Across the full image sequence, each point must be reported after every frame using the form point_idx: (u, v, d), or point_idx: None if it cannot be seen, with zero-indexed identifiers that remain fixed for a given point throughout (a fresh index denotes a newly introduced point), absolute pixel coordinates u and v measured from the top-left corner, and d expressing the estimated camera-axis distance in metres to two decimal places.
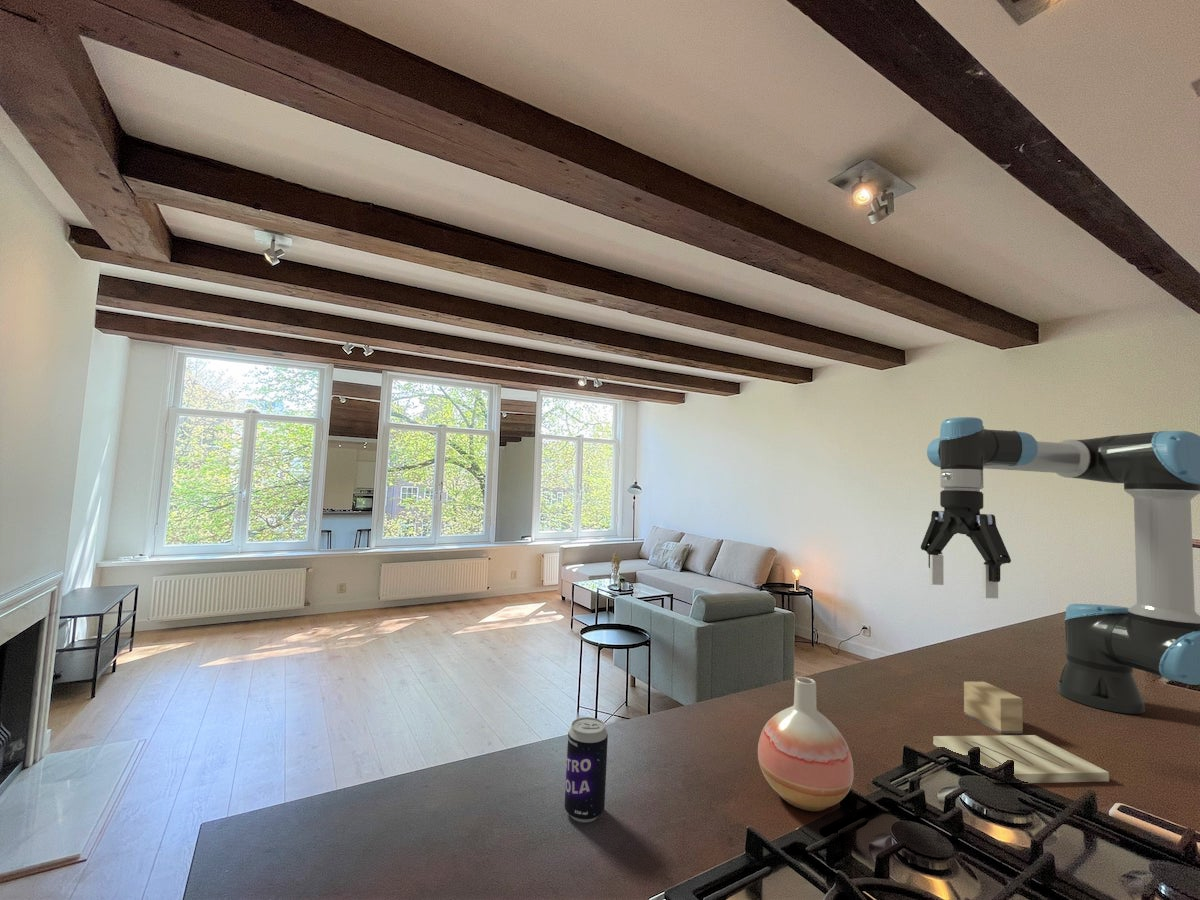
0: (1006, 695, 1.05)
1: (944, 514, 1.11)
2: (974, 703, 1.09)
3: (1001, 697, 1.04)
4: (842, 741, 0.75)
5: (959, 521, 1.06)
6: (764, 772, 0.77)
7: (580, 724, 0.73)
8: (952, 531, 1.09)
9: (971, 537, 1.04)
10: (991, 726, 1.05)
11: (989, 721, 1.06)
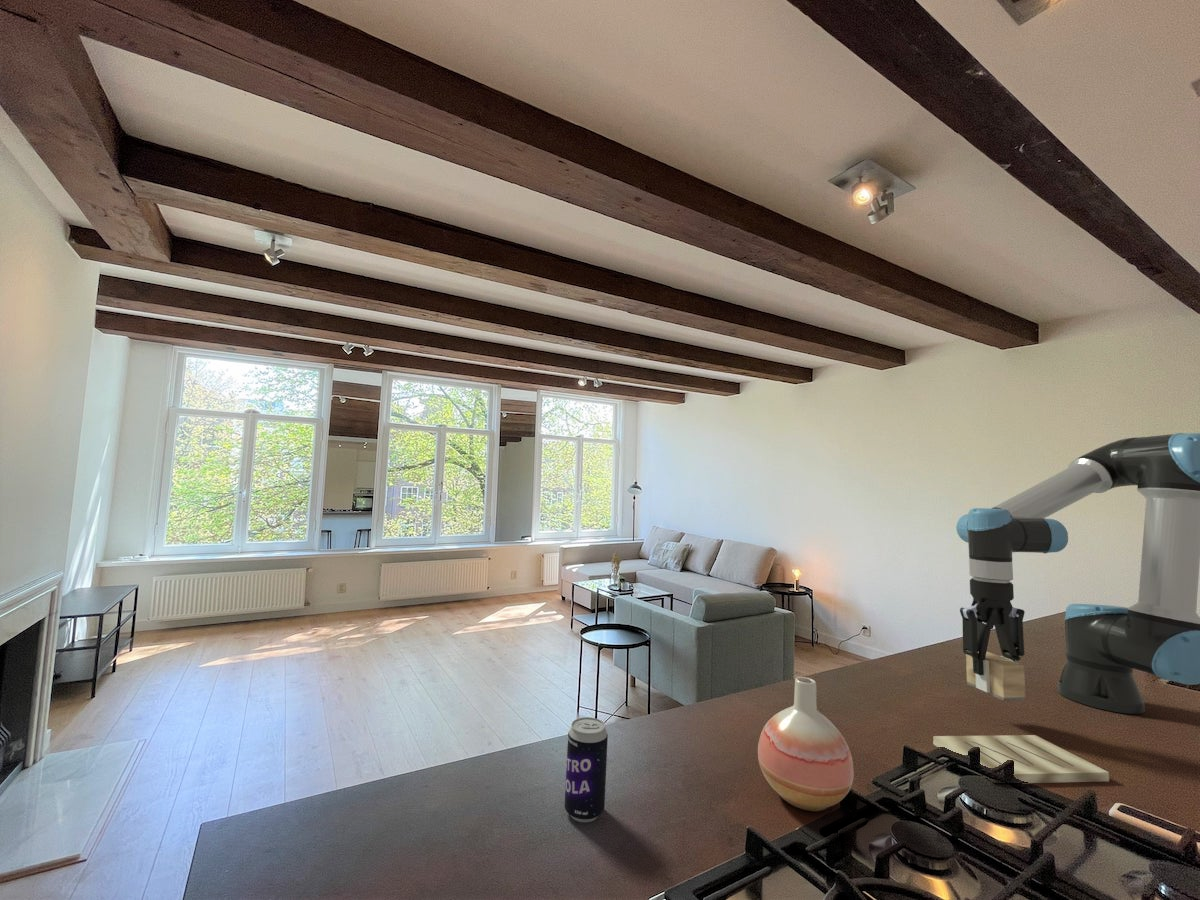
0: (1008, 663, 1.06)
1: None
2: None
3: (1003, 664, 1.05)
4: (842, 741, 0.75)
5: None
6: (764, 772, 0.77)
7: (580, 724, 0.73)
8: None
9: None
10: (994, 694, 1.06)
11: (992, 689, 1.06)
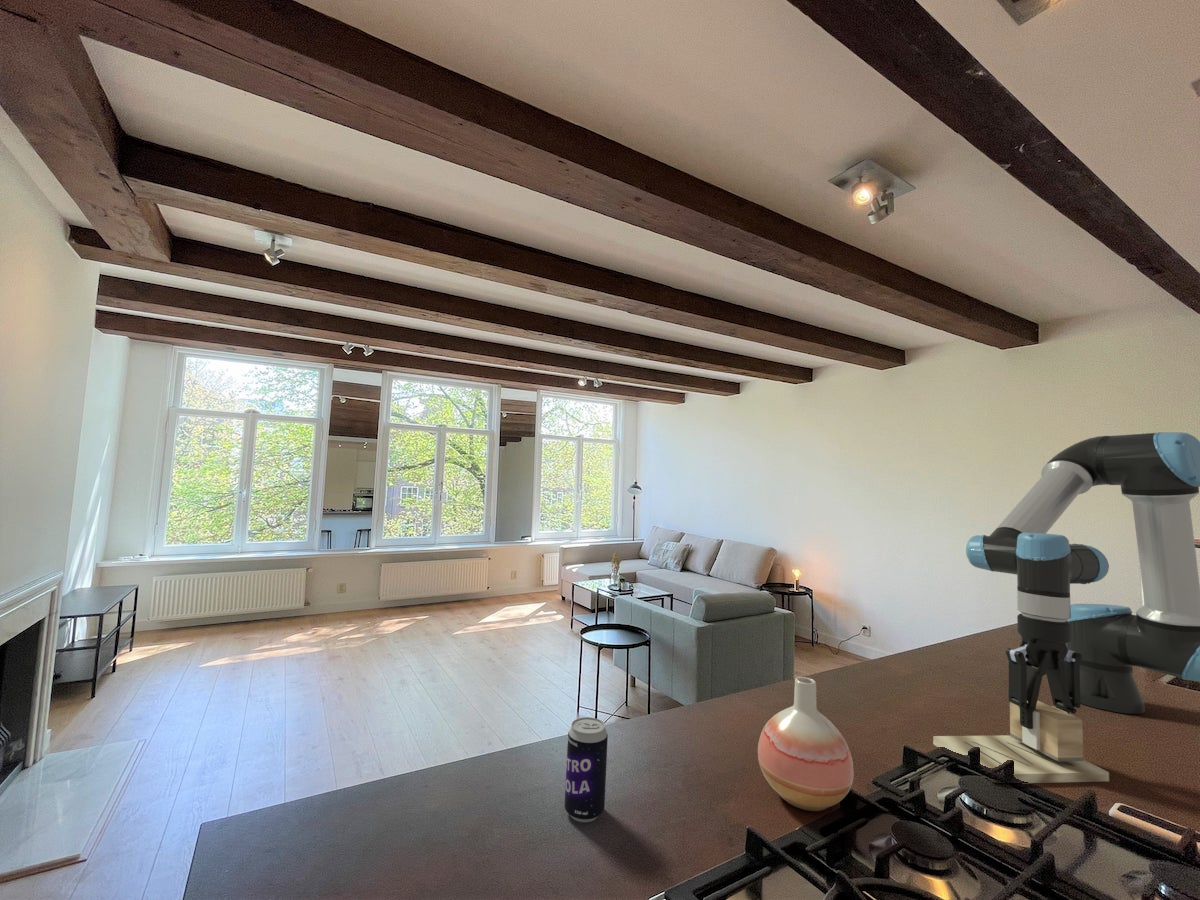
0: (1063, 716, 0.90)
1: None
2: None
3: (1057, 718, 0.89)
4: (842, 741, 0.75)
5: None
6: (764, 772, 0.77)
7: (580, 724, 0.73)
8: None
9: None
10: (1045, 752, 0.90)
11: (1043, 746, 0.91)
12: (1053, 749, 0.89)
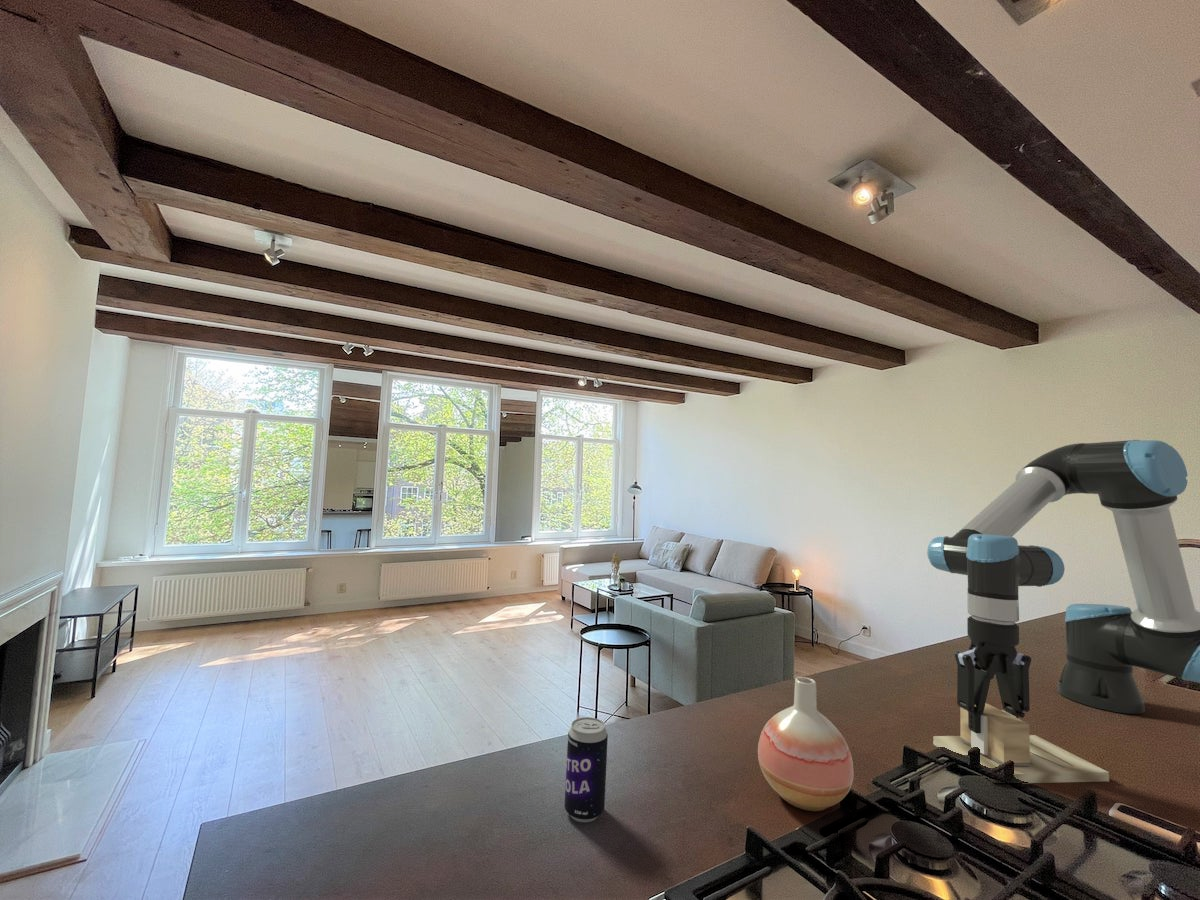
0: (1010, 720, 0.89)
1: None
2: None
3: (1004, 722, 0.88)
4: (842, 741, 0.75)
5: None
6: (764, 772, 0.77)
7: (580, 724, 0.73)
8: None
9: None
10: (992, 757, 0.89)
11: (990, 750, 0.89)
12: (999, 754, 0.88)
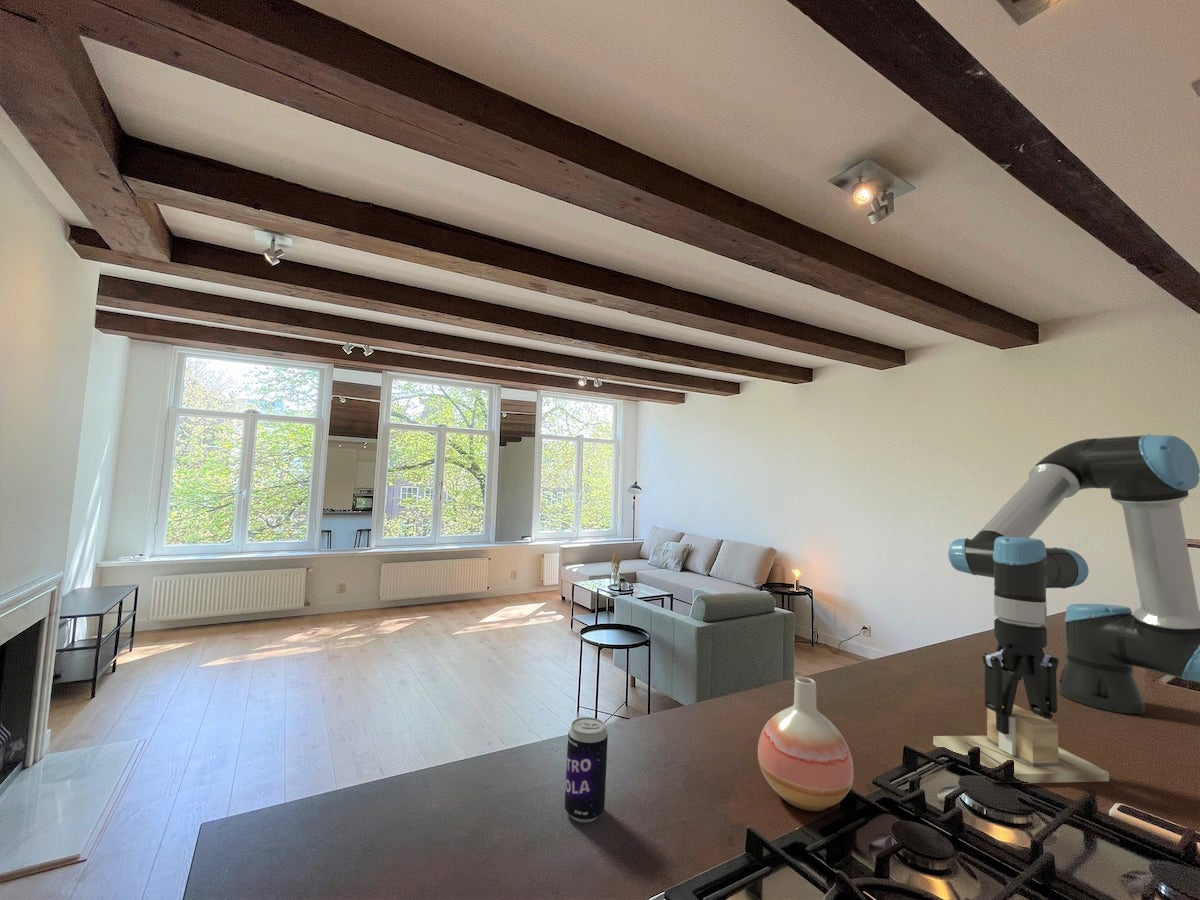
0: (1038, 721, 0.90)
1: None
2: None
3: (1033, 723, 0.89)
4: (842, 741, 0.75)
5: None
6: (764, 772, 0.77)
7: (580, 724, 0.73)
8: None
9: None
10: (1021, 757, 0.90)
11: (1018, 751, 0.90)
12: (1028, 754, 0.88)
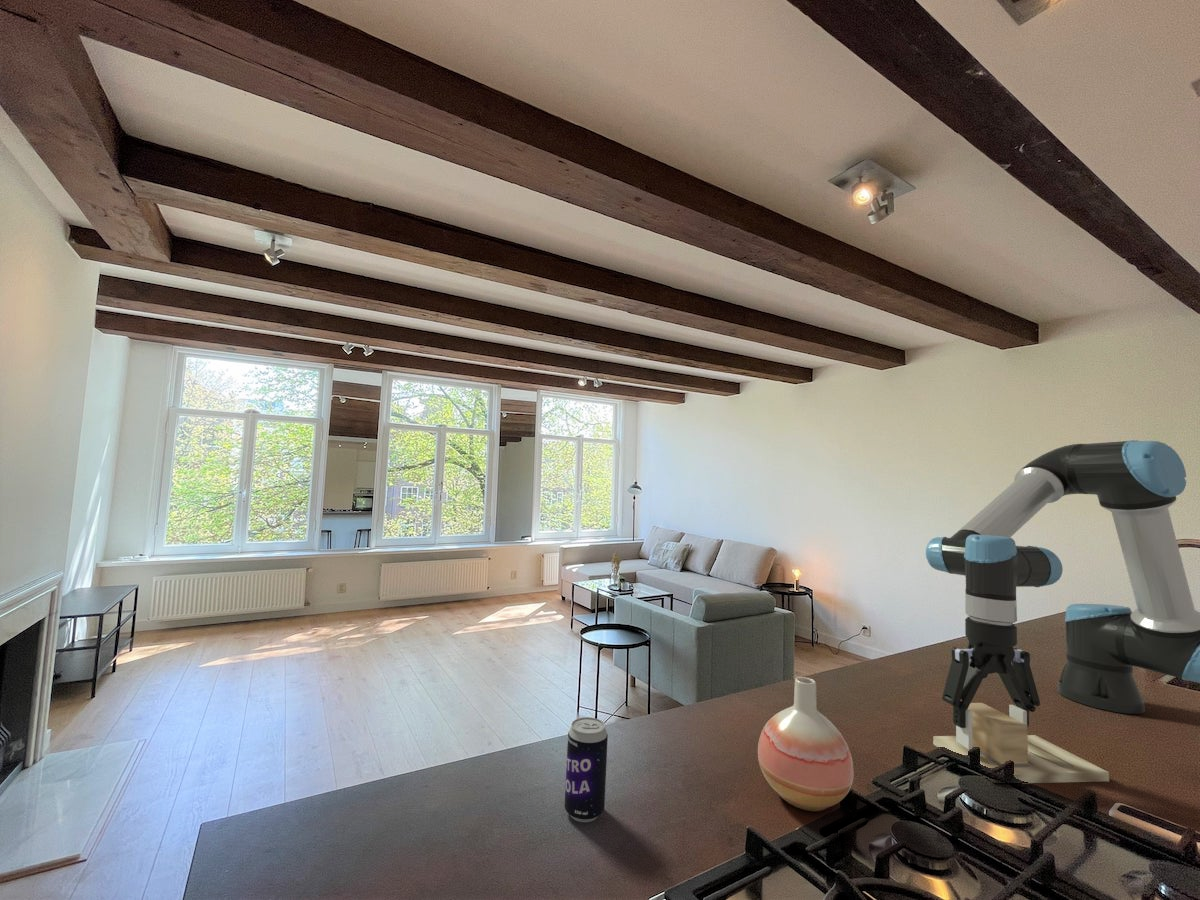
0: (1008, 721, 0.89)
1: None
2: None
3: (1002, 723, 0.88)
4: (842, 741, 0.75)
5: None
6: (764, 772, 0.77)
7: (580, 724, 0.73)
8: None
9: None
10: (990, 757, 0.89)
11: (988, 751, 0.89)
12: (997, 755, 0.87)
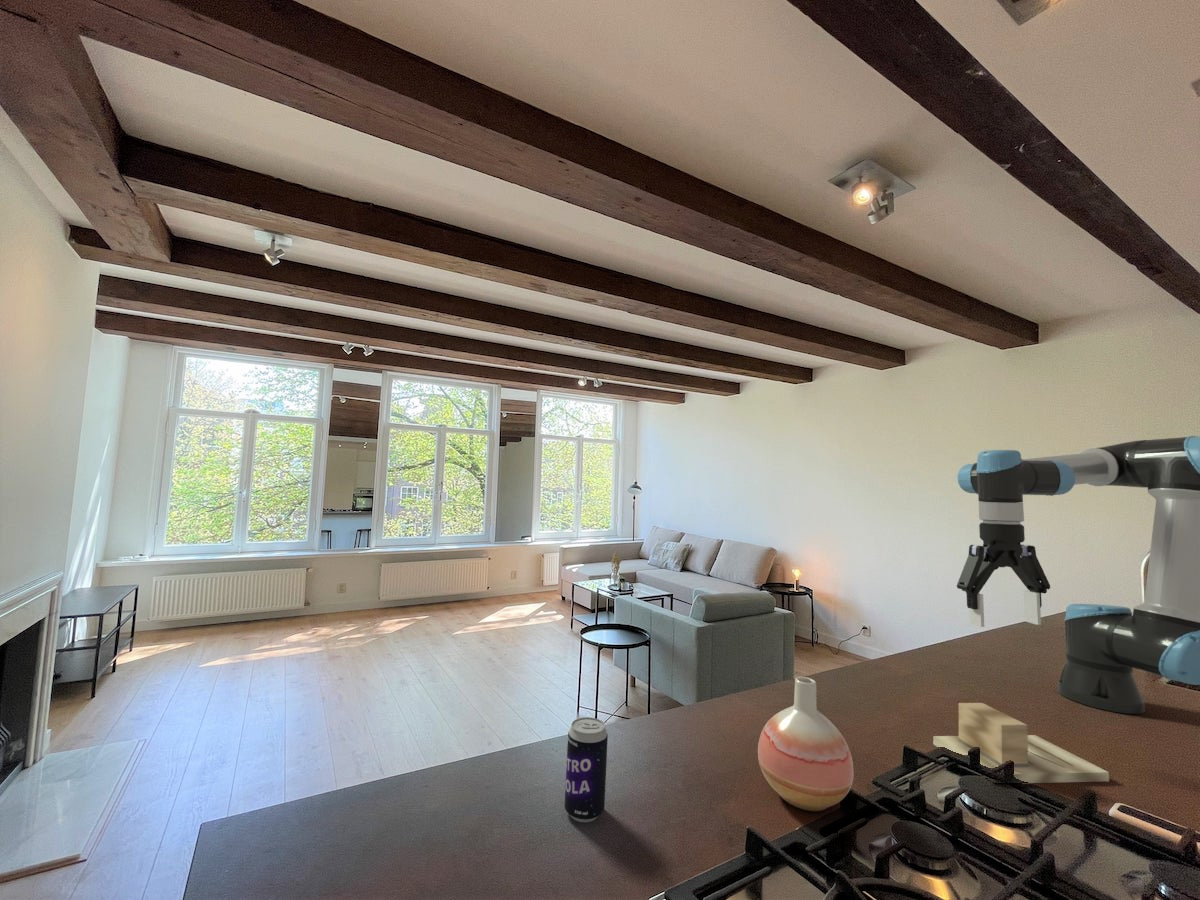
0: (1008, 721, 0.89)
1: None
2: (971, 729, 0.93)
3: (1002, 723, 0.88)
4: (842, 741, 0.75)
5: None
6: (764, 772, 0.77)
7: (580, 724, 0.73)
8: None
9: None
10: (990, 757, 0.89)
11: (988, 751, 0.89)
12: (997, 755, 0.87)
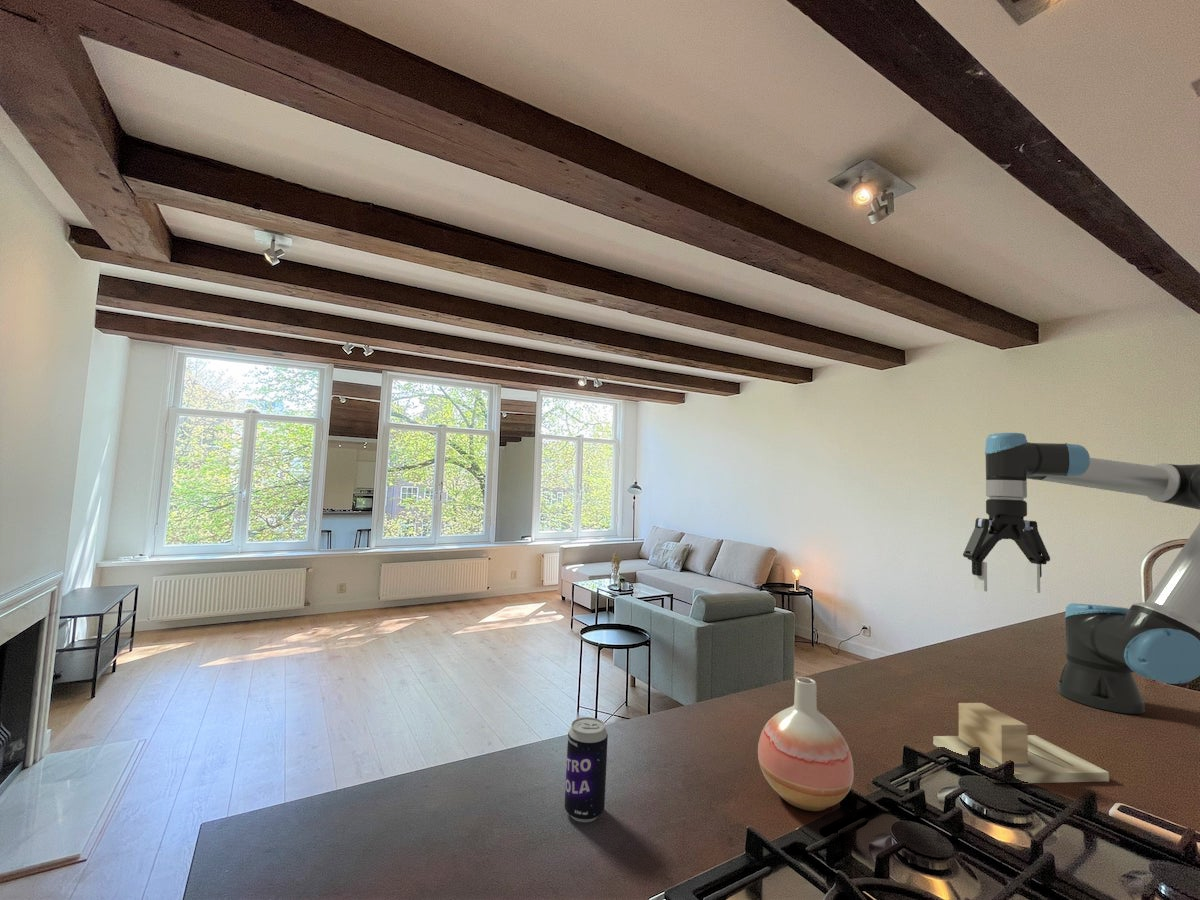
0: (1008, 721, 0.89)
1: None
2: (971, 729, 0.93)
3: (1002, 723, 0.88)
4: (842, 741, 0.75)
5: None
6: (764, 772, 0.77)
7: (580, 724, 0.73)
8: None
9: None
10: (990, 757, 0.89)
11: (988, 751, 0.89)
12: (997, 755, 0.87)
